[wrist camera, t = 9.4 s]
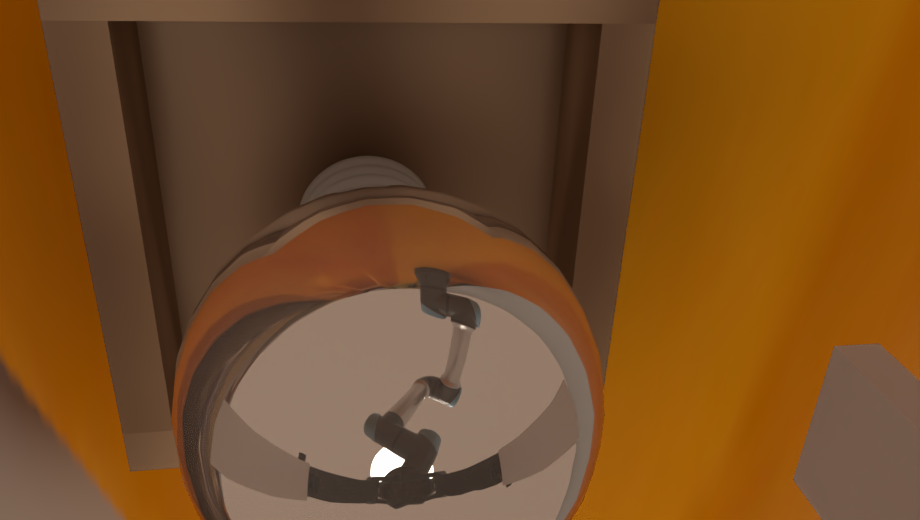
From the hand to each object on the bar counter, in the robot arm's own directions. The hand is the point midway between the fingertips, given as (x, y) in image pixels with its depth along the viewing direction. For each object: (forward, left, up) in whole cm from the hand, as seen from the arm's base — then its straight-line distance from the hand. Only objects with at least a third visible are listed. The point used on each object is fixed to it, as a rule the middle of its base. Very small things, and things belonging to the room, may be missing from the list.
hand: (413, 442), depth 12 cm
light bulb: (0, 0, -10) cm, 10 cm away
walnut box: (0, 0, -13) cm, 13 cm away
